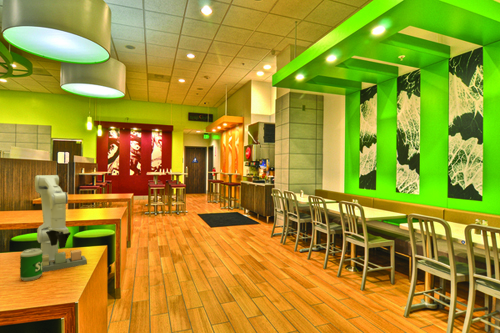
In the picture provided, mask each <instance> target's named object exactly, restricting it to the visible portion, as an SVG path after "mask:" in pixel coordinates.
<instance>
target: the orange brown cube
mask: <svg viewBox="0 0 500 333" xmlns="http://www.w3.org/2000/svg"><path fill="white" fill-rule="evenodd" d="M81 256H82V250H81V249H80V248H79V249H75V250H70V258H71V261H75V260H81Z"/></svg>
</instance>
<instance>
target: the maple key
mask: <svg viewBox="0 0 500 333" xmlns="http://www.w3.org/2000/svg"><path fill="white" fill-rule="evenodd" d="M47 265H49V255H43V266H47Z"/></svg>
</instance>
